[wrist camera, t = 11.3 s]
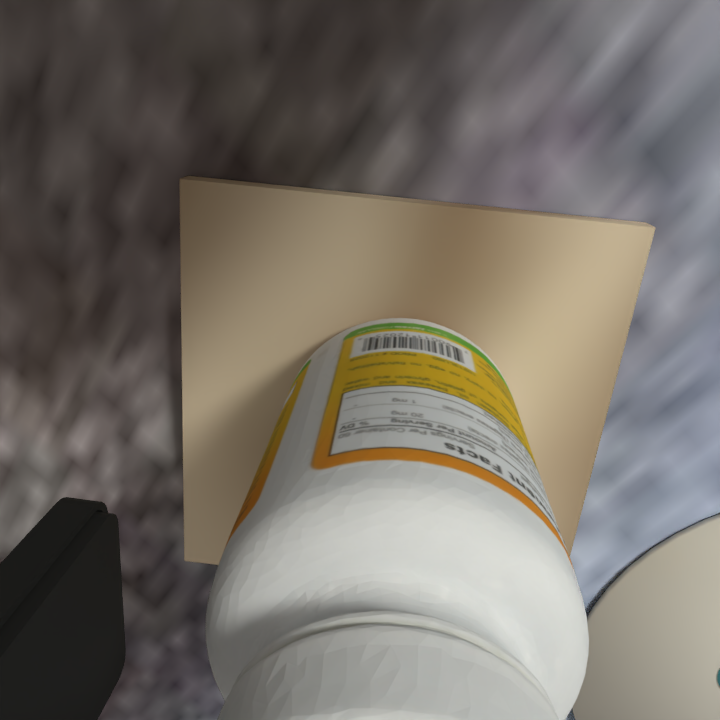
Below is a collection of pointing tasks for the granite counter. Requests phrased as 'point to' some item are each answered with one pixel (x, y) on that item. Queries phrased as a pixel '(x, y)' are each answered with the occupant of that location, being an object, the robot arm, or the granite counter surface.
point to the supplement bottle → (397, 548)
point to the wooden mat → (391, 300)
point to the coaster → (658, 635)
